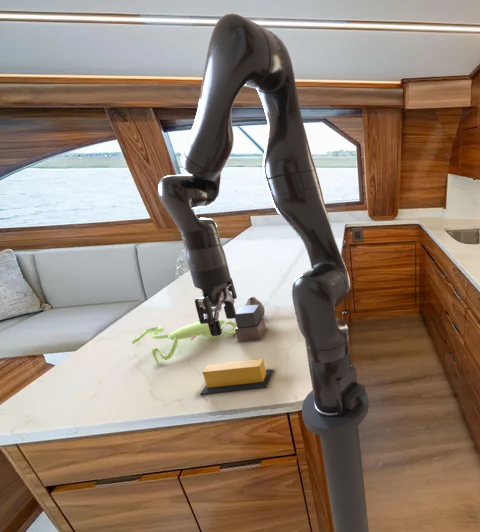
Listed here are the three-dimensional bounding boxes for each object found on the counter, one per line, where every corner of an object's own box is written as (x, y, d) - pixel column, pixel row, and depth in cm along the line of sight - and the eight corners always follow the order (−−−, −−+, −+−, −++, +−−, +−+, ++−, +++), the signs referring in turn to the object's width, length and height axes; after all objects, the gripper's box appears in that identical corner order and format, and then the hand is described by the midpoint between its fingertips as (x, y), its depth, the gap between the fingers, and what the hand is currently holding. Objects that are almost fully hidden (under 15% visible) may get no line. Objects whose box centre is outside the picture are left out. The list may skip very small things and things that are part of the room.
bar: (266, 373, 82) (263, 358, 80) (263, 381, 79) (259, 366, 77) (212, 379, 80) (208, 364, 79) (207, 388, 77) (202, 372, 76)
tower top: (261, 317, 103) (259, 304, 102) (256, 326, 98) (253, 312, 96) (243, 319, 103) (240, 306, 101) (237, 327, 97) (233, 314, 95)
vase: (241, 322, 110) (236, 301, 108) (255, 314, 117) (251, 293, 114) (256, 325, 108) (252, 303, 105) (269, 316, 114) (265, 295, 112)
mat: (273, 370, 84) (273, 369, 84) (265, 387, 77) (265, 386, 77) (213, 376, 82) (212, 375, 82) (200, 395, 75) (200, 393, 75)
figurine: (133, 348, 96) (127, 333, 94) (222, 316, 115) (219, 303, 113) (145, 372, 85) (139, 355, 83) (242, 332, 103) (238, 318, 102)
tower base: (266, 329, 105) (263, 316, 104) (260, 340, 99) (257, 326, 97) (245, 331, 105) (242, 318, 103) (238, 342, 98) (234, 328, 96)
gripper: (211, 273, 62) (228, 340, 68) (237, 254, 76) (250, 311, 81) (172, 276, 62) (193, 343, 67) (206, 257, 75) (221, 314, 80)
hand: (224, 326), depth 74 cm, fingers open, 8 cm apart
